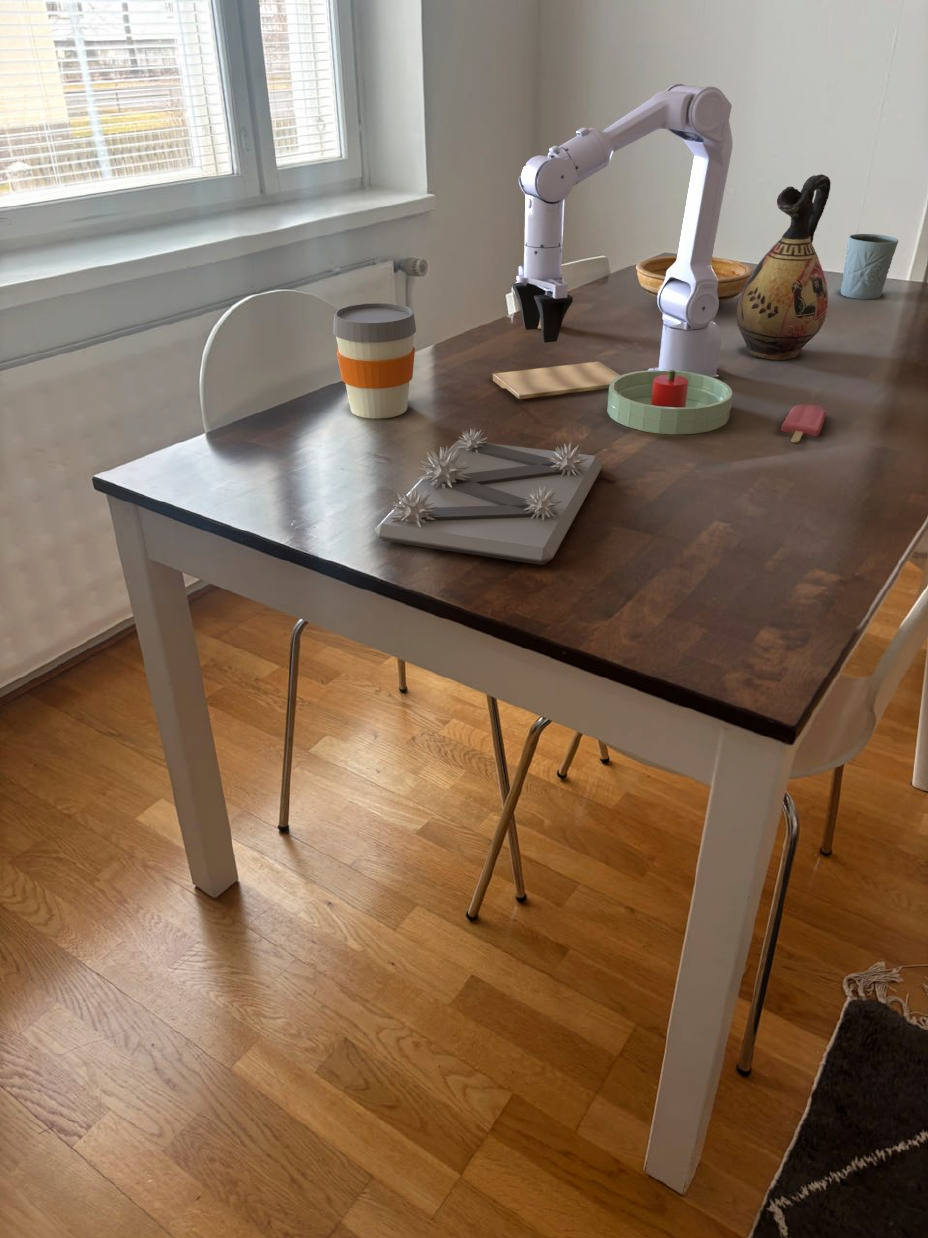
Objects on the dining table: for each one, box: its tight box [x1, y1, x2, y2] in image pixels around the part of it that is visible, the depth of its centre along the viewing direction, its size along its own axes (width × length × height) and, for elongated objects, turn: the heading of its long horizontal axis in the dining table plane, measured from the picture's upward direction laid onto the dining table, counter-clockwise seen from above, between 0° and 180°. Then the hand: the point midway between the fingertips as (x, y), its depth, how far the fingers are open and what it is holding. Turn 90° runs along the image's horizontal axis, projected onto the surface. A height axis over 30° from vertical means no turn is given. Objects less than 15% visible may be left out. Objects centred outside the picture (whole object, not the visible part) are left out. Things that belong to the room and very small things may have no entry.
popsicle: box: [780, 404, 827, 444], centre depth 142 cm, size 5×2×15 cm
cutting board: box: [492, 361, 622, 400], centre depth 161 cm, size 20×12×1 cm, turn 109°
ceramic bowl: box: [635, 255, 754, 304], centre depth 204 cm, size 30×24×8 cm
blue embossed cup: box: [840, 233, 899, 300], centre depth 210 cm, size 10×10×12 cm
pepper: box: [651, 370, 689, 408], centre depth 146 cm, size 5×5×7 cm
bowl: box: [606, 369, 734, 436], centre depth 146 cm, size 18×18×4 cm
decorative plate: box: [373, 427, 604, 566], centre depth 119 cm, size 30×22×7 cm
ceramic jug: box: [736, 173, 832, 361], centre depth 168 cm, size 17×15×30 cm
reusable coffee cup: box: [332, 302, 417, 420], centre depth 147 cm, size 13×13×15 cm
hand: (540, 335), depth 151 cm, fingers open, 7 cm apart
